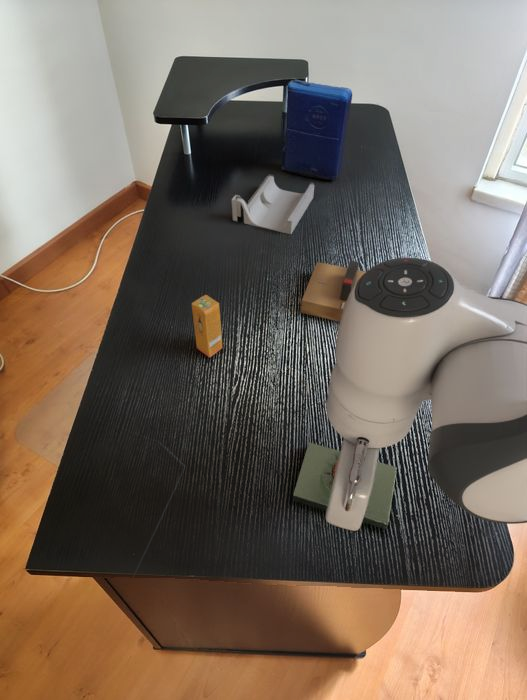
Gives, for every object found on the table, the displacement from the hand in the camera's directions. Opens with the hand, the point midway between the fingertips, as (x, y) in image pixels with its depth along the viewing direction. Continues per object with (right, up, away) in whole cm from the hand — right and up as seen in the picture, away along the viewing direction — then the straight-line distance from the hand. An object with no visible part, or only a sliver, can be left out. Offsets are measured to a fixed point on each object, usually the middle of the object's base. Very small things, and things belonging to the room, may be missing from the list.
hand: (353, 466), depth 58 cm
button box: (0, -4, +5) cm, 6 cm away
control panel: (+4, +23, +28) cm, 36 cm away
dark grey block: (+4, +25, +25) cm, 36 cm away
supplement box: (-20, +14, +20) cm, 32 cm away
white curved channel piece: (-9, +45, +47) cm, 66 cm away
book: (0, +56, +57) cm, 80 cm away
